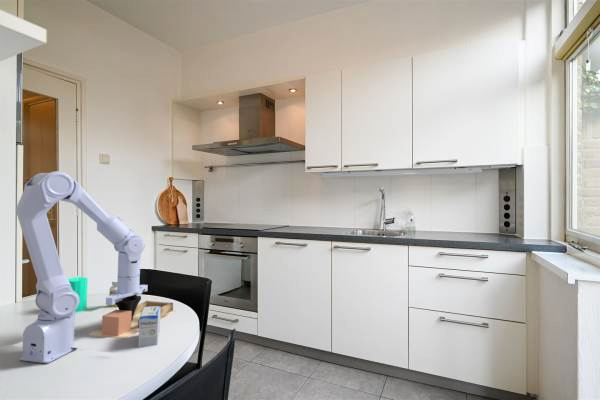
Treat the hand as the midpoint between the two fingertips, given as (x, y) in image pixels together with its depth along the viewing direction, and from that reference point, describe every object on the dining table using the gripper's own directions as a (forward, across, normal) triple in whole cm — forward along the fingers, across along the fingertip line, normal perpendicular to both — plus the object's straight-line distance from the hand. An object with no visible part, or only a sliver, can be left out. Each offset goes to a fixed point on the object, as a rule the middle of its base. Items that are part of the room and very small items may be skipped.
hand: (127, 322), depth 90 cm
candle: (+2, +11, +29) cm, 31 cm away
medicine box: (+2, -7, -12) cm, 14 cm away
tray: (+2, +4, 0) cm, 4 cm away
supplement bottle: (+2, +16, +17) cm, 24 cm away
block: (+1, -4, 0) cm, 4 cm away
